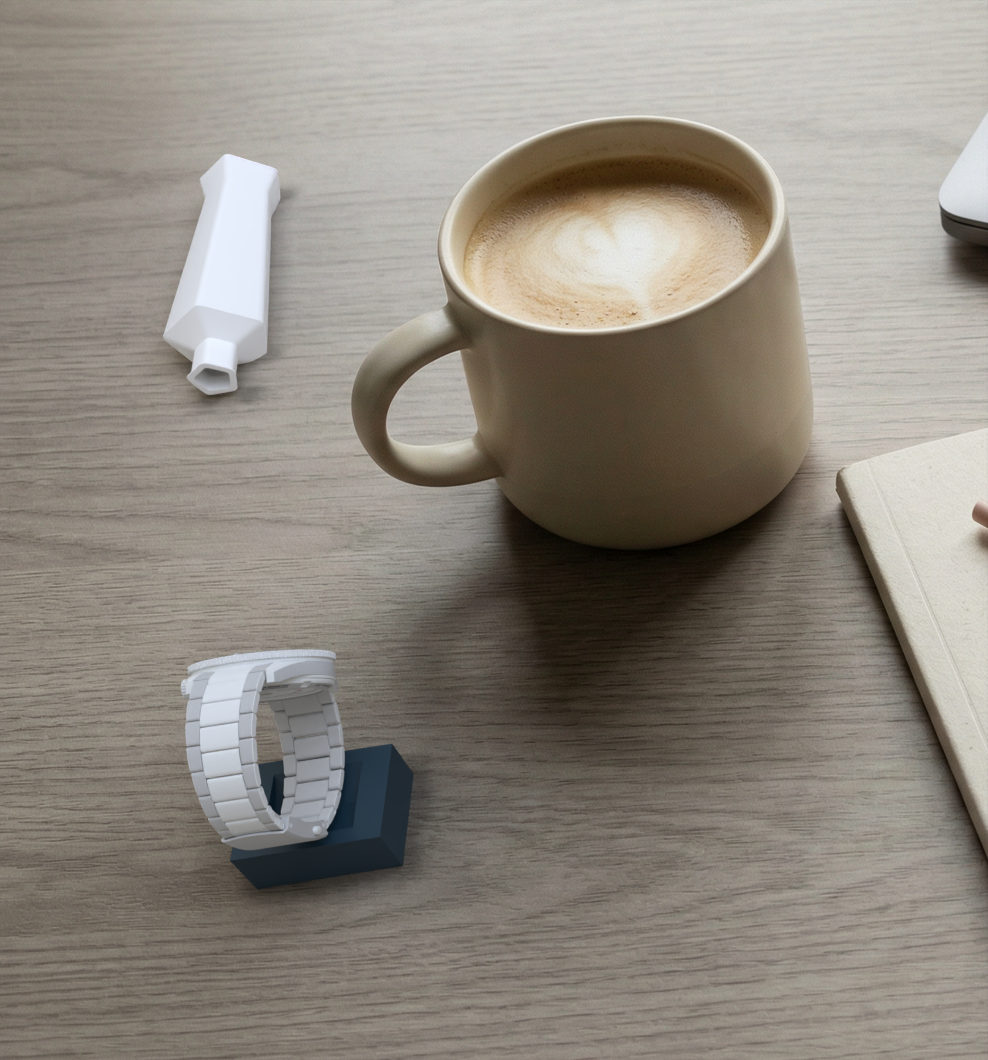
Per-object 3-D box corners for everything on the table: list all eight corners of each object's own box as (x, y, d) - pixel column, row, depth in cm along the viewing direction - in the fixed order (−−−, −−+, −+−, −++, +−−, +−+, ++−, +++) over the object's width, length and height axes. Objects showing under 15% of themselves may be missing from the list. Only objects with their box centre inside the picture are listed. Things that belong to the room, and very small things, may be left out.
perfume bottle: (269, 141, 90) (242, 336, 81) (304, 205, 94) (281, 399, 85) (176, 154, 89) (138, 352, 80) (214, 218, 93) (182, 415, 84)
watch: (424, 743, 73) (319, 589, 64) (404, 913, 68) (288, 772, 59) (285, 764, 72) (160, 611, 63) (255, 938, 67) (115, 798, 58)
